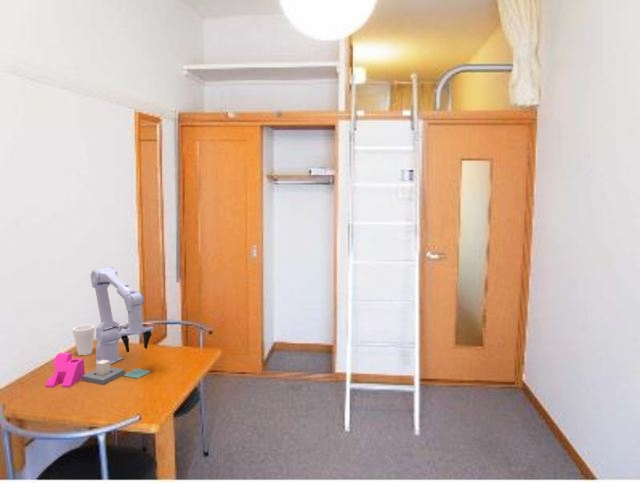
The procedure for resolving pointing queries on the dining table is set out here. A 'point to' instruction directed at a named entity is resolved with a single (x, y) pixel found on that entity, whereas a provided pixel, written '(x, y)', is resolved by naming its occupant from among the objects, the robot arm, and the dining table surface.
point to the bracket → (66, 370)
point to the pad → (136, 373)
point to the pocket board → (103, 379)
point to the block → (103, 367)
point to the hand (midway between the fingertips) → (136, 349)
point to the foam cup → (84, 339)
